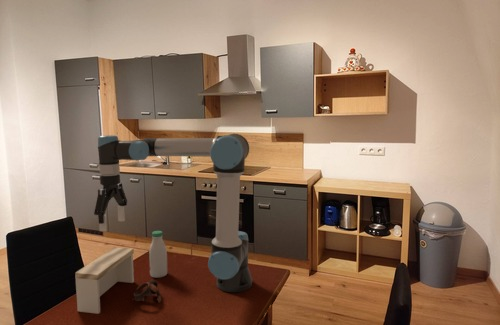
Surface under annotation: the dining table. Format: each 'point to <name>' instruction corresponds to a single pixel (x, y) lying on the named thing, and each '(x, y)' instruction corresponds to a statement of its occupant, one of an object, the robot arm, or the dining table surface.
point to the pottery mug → (147, 291)
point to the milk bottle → (158, 256)
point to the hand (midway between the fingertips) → (112, 225)
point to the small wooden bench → (102, 277)
